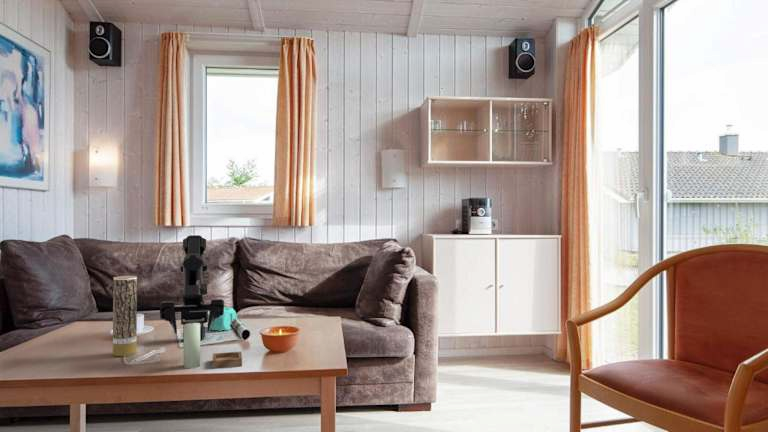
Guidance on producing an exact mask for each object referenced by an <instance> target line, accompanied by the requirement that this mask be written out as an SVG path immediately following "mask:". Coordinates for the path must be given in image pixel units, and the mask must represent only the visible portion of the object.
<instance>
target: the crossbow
mask: <svg viewBox="0 0 768 432" xmlns="http://www.w3.org/2000/svg"><path fill="white" fill-rule="evenodd" d="M164 352H166V347H165V346H162V347H160V348H159V349H153V350H152V351H149V352H147V351H146V352H144V354H143V355H141V356H139V357H137V358H134V359H133V360H130V361H129V362H128V361H126V357H129V356H130V355H127V356H123V362H124V364H125V365H128V366H129V365H130V366H131V365H132V366H133V365H143V364H150V363H155V362H156V363H157V362H160V361H161V359H160V357H159V354H160V353H164ZM140 354H142V352H140V353H139V352H138V355H140ZM135 355H136V353H135V354H133V355H132V356H135ZM155 355H156V356H157V359H152V360H147V361H146V359H148V358H150V357H153V356H155ZM144 360H145V361H144Z"/></svg>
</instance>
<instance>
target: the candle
mask: <svg viewBox="0 0 768 432" xmlns="http://www.w3.org/2000/svg"><path fill="white" fill-rule="evenodd" d="M199 367H201V341H200V323H193V322H192V323H187V324H184V341H183V368H184V369H196V368H199Z"/></svg>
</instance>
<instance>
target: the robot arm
mask: <svg viewBox="0 0 768 432" xmlns="http://www.w3.org/2000/svg"><path fill="white" fill-rule="evenodd" d="M182 251H183V252H184V257H183V262H181V264H180V273H181V274H182V275H183V293H182V304H180V305H179V304H178V305H176V304H175V301H162V302H161V303H160V304H159V316H160V319H162V320H164V321H165V322H169V324H170V325H171V327H172V329H173V332H174V334H177V333H178V327H177V325H178V324H177V319H176V313H180V325H183V332H182V334H183V335H182V338H183V339H180V340H181V342H184V324H187V323H192V322H193V323H200V340H201V339H202V340H204V339H205V338H206V326H205V325H204V324H207V332H209V331H210V329H211V326H212V323H213V322H214V320H215V319H216V318H219V316H222V315H223V314H224V307H225V300H224V299H222V298H220V299H219V298H215V299H214V298H213V299H210V303H208V304H205V300H204V298H203V295H208V283H205V282H204V283H203V276H204V273H206V271H207V270H208V265H207V263H206V262H204V257H205V252H206V251H207V238H203V237H202V235H199V234H196V235H187V236H186V237H185V238H183V239H182ZM208 317H209V319H208ZM204 337H205V338H204ZM203 338H204V339H203ZM202 340H201V341H202Z"/></svg>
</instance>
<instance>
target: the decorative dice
mask: <svg viewBox="0 0 768 432" xmlns="http://www.w3.org/2000/svg"><path fill="white" fill-rule="evenodd" d="M208 319H209V316H208ZM233 319H237V320H238V315H237V312H236V310H235V309H234V308H232V307H228V306H227V307H225V306H224V314H223V315H222V316H219V318H216V319H215V320H214V322H213V323H212V326H211V328H210V329H211V330H212V331H213V330H218V331H217V332H222V331H221V330H228V331H230V330H229V329H231V327H230V324H231V322H232V321H233Z"/></svg>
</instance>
